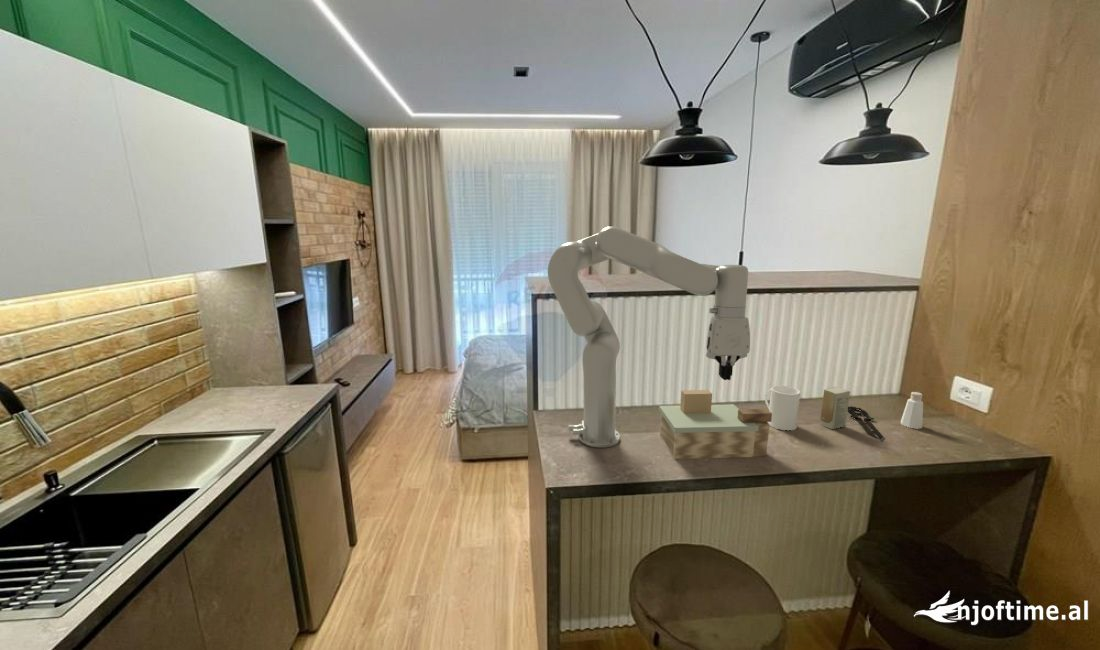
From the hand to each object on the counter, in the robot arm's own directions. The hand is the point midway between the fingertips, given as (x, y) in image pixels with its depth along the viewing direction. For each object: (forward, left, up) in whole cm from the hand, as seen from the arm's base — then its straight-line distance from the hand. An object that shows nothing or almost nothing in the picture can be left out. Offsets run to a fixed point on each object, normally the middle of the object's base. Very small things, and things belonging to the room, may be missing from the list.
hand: (725, 378), depth 114 cm
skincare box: (+43, +15, -22) cm, 51 cm away
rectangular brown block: (+9, 0, -12) cm, 15 cm away
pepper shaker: (+68, +14, -22) cm, 73 cm away
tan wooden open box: (-1, +4, -22) cm, 23 cm away
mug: (+27, +18, -22) cm, 40 cm away
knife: (+55, +16, -23) cm, 62 cm away
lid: (-3, +4, -14) cm, 15 cm away
